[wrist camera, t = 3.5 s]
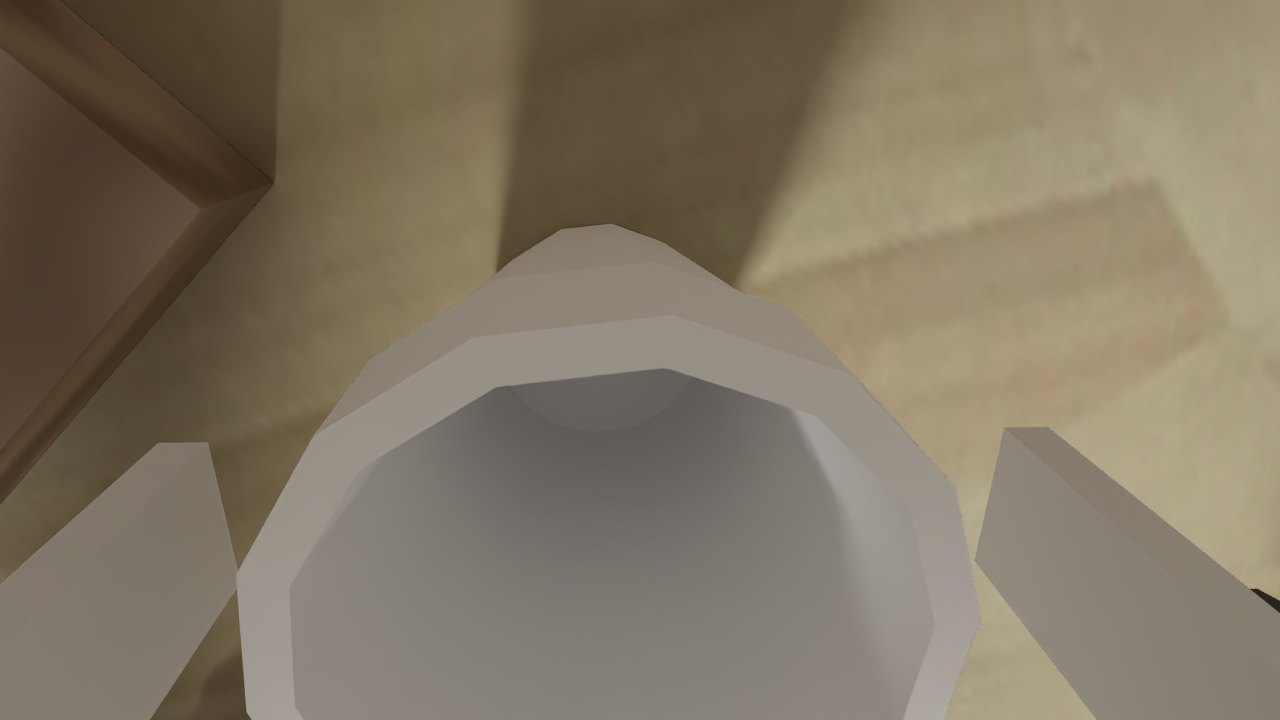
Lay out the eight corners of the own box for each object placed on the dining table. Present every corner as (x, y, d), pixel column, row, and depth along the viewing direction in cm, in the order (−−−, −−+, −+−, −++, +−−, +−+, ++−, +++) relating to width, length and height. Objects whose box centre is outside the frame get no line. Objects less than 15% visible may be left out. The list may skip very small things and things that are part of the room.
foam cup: (544, 94, 19) (479, 139, 7) (821, 279, 21) (1127, 549, 9) (379, 382, 22) (122, 777, 10) (642, 519, 24) (702, 973, 12)
